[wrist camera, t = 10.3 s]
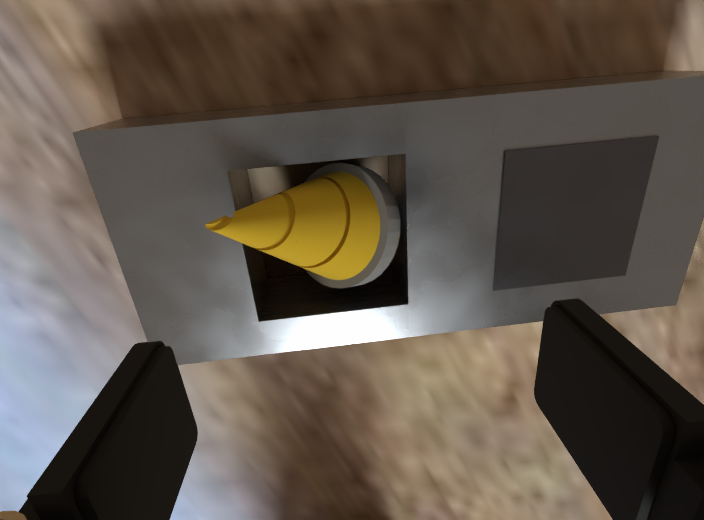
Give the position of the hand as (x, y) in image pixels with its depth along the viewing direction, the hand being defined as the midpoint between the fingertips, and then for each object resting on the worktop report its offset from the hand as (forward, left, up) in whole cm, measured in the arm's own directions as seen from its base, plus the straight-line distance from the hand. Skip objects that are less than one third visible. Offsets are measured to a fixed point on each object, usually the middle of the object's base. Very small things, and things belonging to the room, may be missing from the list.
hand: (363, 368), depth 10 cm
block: (-3, -1, -11) cm, 11 cm away
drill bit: (+1, -1, -11) cm, 11 cm away
